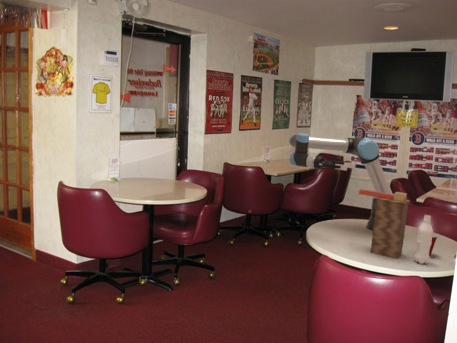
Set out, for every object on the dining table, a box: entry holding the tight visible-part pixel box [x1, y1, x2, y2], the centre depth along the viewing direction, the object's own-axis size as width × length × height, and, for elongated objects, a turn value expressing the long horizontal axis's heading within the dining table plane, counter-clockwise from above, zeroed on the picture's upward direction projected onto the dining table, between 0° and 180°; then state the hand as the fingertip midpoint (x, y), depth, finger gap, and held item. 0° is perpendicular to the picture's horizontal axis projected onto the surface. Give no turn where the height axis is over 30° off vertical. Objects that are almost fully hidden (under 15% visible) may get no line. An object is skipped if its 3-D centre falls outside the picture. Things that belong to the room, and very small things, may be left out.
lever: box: [358, 188, 408, 202], centre depth 247 cm, size 24×5×4 cm, turn 56°
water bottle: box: [414, 214, 434, 265], centre depth 235 cm, size 7×7×25 cm
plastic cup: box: [416, 231, 439, 257], centre depth 250 cm, size 11×11×12 cm
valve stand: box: [370, 197, 411, 259], centre depth 246 cm, size 15×11×30 cm
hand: (351, 167), depth 255 cm, fingers open, 13 cm apart
